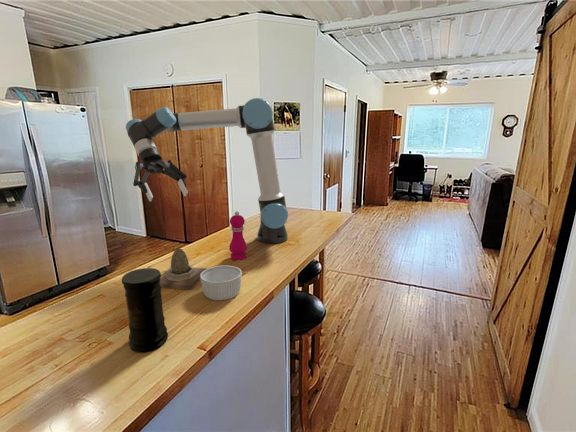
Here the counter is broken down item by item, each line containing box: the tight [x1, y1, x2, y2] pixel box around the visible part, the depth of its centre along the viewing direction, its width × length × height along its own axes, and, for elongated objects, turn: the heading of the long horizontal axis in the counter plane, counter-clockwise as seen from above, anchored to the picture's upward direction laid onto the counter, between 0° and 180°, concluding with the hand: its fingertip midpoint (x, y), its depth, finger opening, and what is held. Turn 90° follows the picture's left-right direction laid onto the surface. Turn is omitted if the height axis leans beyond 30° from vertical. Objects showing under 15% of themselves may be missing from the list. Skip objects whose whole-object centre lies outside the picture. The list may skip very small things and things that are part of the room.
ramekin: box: [199, 264, 243, 301], centre depth 102 cm, size 13×13×7 cm
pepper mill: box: [229, 211, 248, 261], centre depth 130 cm, size 7×7×20 cm
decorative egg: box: [170, 247, 190, 275], centre depth 111 cm, size 6×6×10 cm
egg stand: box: [160, 264, 207, 291], centre depth 112 cm, size 14×14×4 cm
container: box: [121, 267, 169, 353], centre depth 76 cm, size 9×9×18 cm
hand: (169, 196), depth 117 cm, fingers open, 13 cm apart
